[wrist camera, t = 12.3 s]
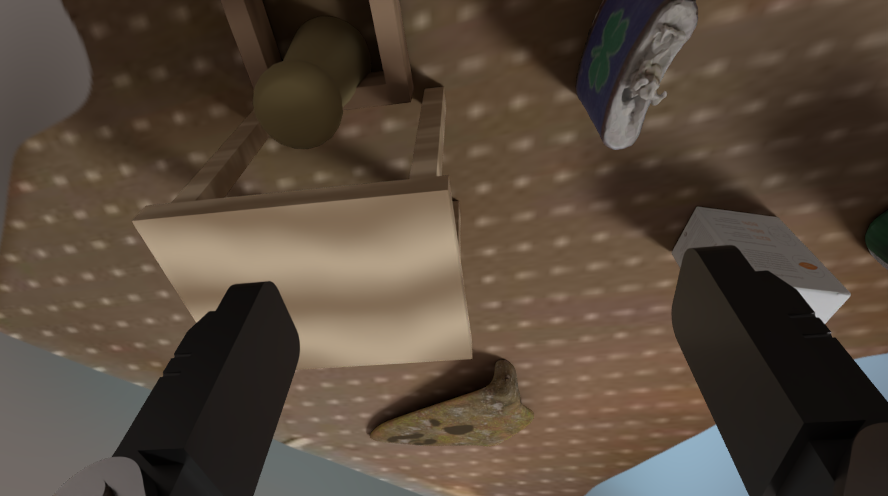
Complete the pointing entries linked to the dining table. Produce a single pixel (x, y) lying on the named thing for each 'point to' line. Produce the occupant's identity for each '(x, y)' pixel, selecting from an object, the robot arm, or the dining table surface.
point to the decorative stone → (464, 417)
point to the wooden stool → (328, 252)
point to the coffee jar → (878, 239)
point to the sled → (373, 90)
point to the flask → (630, 62)
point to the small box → (766, 253)
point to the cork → (312, 83)
